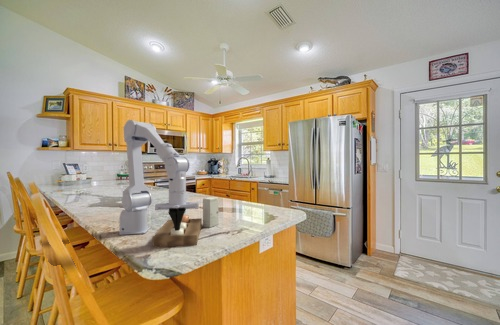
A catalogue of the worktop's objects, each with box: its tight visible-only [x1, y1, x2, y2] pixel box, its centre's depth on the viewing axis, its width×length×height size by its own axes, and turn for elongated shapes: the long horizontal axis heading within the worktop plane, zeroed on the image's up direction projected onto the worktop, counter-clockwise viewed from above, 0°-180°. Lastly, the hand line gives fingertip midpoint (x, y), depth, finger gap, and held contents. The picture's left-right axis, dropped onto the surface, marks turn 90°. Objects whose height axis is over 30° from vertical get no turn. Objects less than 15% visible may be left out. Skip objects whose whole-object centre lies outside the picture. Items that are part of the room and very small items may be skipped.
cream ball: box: [180, 222, 187, 228], centre depth 83 cm, size 4×4×4 cm
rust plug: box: [181, 214, 190, 223], centre depth 90 cm, size 4×4×4 cm
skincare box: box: [202, 196, 219, 228], centre depth 95 cm, size 6×4×12 cm
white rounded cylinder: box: [171, 228, 184, 235], centre depth 76 cm, size 4×4×4 cm
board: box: [152, 217, 203, 248], centre depth 83 cm, size 14×22×3 cm, turn 9°
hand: (177, 229), depth 76 cm, fingers closed, pressing on white rounded cylinder
